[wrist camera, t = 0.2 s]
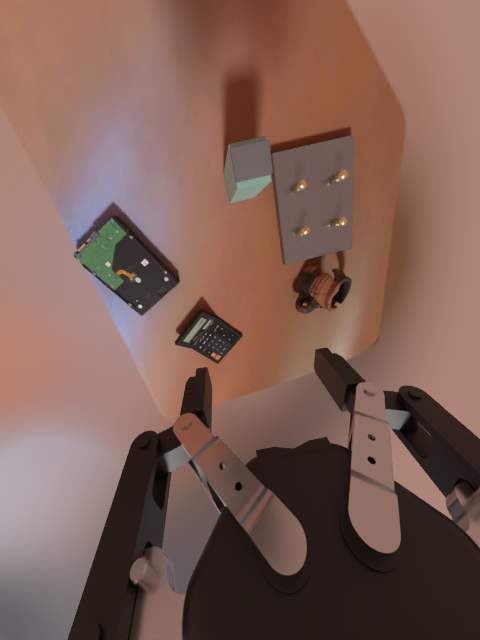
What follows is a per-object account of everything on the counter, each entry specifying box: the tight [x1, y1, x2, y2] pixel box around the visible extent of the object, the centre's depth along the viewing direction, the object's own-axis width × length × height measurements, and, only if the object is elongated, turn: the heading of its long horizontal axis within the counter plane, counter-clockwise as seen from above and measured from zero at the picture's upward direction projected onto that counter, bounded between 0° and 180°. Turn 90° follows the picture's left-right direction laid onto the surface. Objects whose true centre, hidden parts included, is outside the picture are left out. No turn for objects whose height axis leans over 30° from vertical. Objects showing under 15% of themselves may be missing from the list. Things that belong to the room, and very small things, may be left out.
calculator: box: [175, 310, 242, 364], centre depth 43 cm, size 9×12×3 cm
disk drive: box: [74, 215, 180, 316], centre depth 36 cm, size 10×3×15 cm
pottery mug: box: [295, 265, 351, 314], centre depth 41 cm, size 12×9×8 cm
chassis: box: [271, 135, 354, 265], centre depth 34 cm, size 18×14×4 cm
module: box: [224, 136, 273, 203], centre depth 28 cm, size 4×5×12 cm
